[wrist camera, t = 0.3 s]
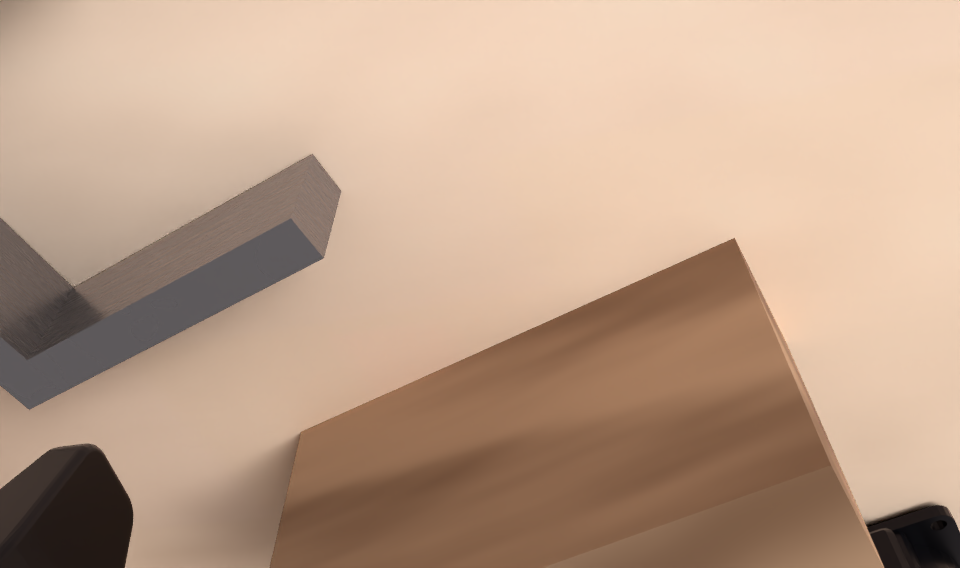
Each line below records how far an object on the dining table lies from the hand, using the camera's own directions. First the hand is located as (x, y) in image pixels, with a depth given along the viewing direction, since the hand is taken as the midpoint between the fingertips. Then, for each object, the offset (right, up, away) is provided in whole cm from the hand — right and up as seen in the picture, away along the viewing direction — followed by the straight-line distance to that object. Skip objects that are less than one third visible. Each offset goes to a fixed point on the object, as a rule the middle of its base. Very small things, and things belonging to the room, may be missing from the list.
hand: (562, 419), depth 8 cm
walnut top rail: (+1, -2, +18) cm, 18 cm away
